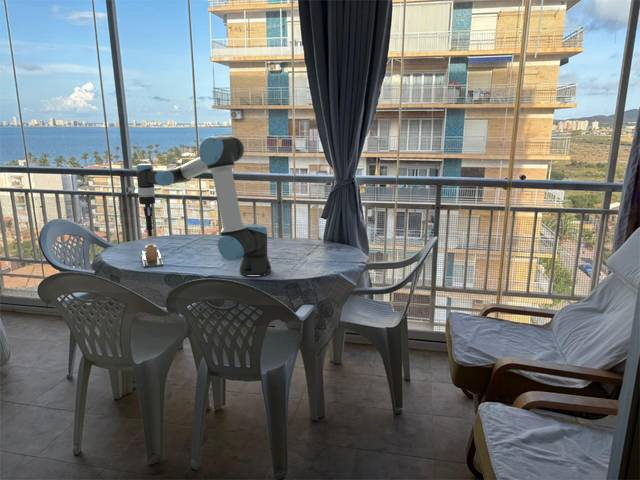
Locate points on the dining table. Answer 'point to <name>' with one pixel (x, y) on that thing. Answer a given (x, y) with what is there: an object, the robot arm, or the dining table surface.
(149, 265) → the white tray
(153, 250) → the module
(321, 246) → the dining table surface
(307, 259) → the dining table surface
